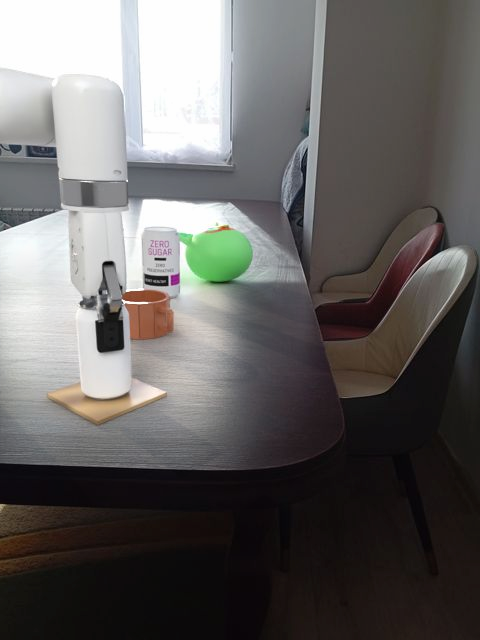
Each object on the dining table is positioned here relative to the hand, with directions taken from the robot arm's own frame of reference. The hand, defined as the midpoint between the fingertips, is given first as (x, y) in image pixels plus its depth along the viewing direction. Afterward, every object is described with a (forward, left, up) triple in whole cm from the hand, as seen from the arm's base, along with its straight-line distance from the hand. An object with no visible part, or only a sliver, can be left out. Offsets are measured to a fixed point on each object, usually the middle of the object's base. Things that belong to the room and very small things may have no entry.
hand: (103, 340), depth 66 cm
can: (0, 0, -7) cm, 7 cm away
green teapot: (-36, +61, -8) cm, 71 cm away
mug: (-16, +21, -8) cm, 28 cm away
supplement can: (-34, +40, -8) cm, 53 cm away
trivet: (0, 0, -8) cm, 8 cm away
